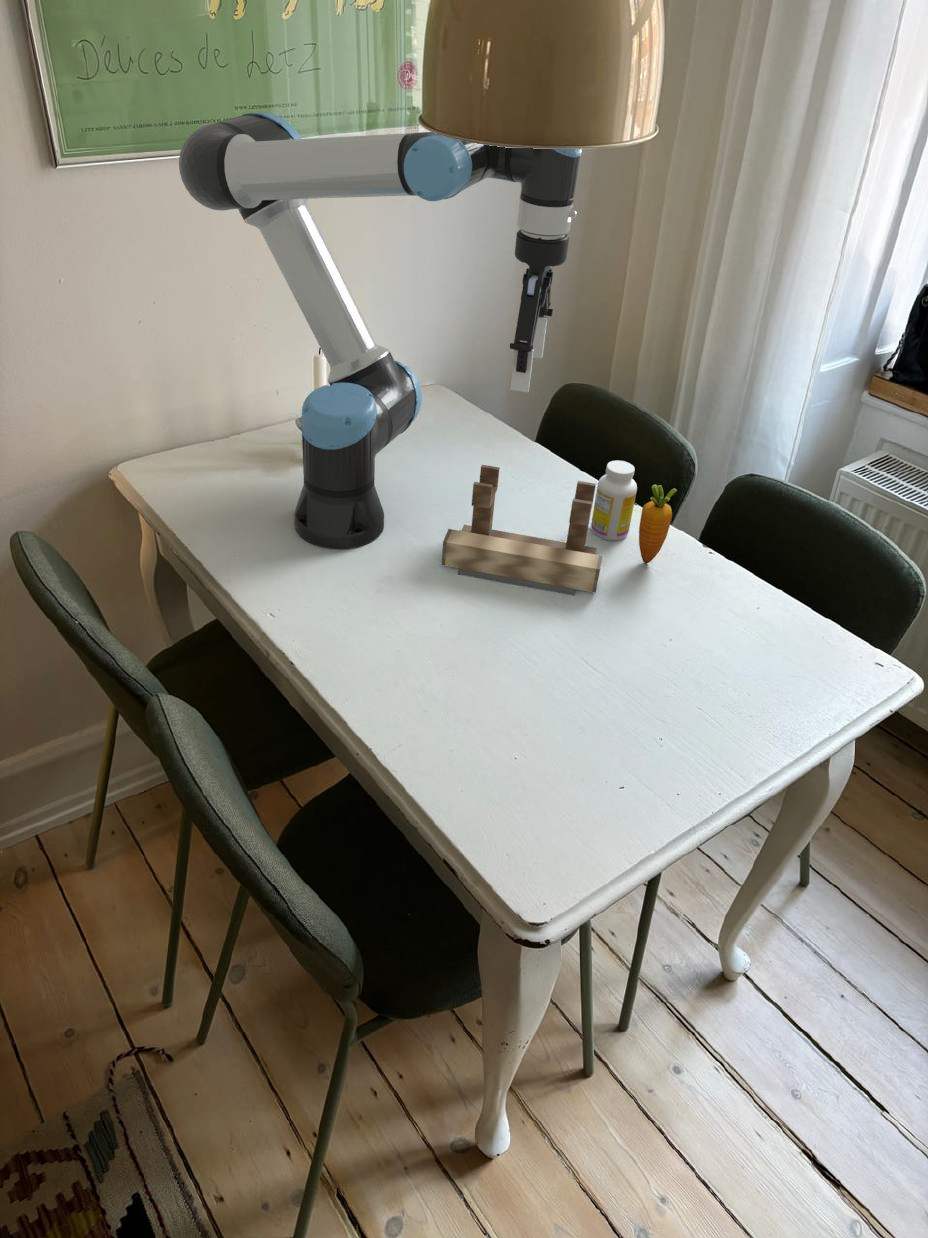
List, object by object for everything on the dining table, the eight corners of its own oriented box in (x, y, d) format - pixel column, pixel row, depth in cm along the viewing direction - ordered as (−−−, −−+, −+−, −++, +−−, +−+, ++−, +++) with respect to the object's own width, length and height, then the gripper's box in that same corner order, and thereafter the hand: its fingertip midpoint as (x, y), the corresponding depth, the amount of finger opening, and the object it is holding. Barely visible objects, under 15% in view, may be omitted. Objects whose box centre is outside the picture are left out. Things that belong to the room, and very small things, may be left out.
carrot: (664, 560, 164) (682, 482, 155) (655, 575, 161) (674, 496, 152) (636, 552, 166) (652, 474, 157) (627, 566, 162) (643, 487, 153)
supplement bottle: (627, 524, 173) (640, 459, 165) (628, 544, 168) (642, 478, 160) (589, 519, 173) (601, 455, 165) (589, 539, 168) (601, 474, 160)
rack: (456, 547, 163) (461, 481, 155) (464, 526, 168) (470, 462, 161) (592, 571, 160) (604, 506, 153) (596, 550, 165) (608, 485, 158)
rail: (441, 564, 158) (443, 541, 155) (446, 551, 161) (448, 528, 158) (595, 592, 154) (600, 569, 152) (598, 578, 158) (602, 555, 155)
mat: (457, 574, 157) (458, 571, 156) (465, 554, 162) (465, 551, 161) (574, 595, 154) (574, 592, 154) (578, 575, 159) (579, 571, 159)
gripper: (557, 260, 128) (538, 409, 141) (579, 212, 148) (561, 347, 161) (501, 253, 129) (487, 401, 142) (531, 206, 149) (516, 340, 162)
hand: (526, 372), depth 151 cm, fingers open, 13 cm apart
